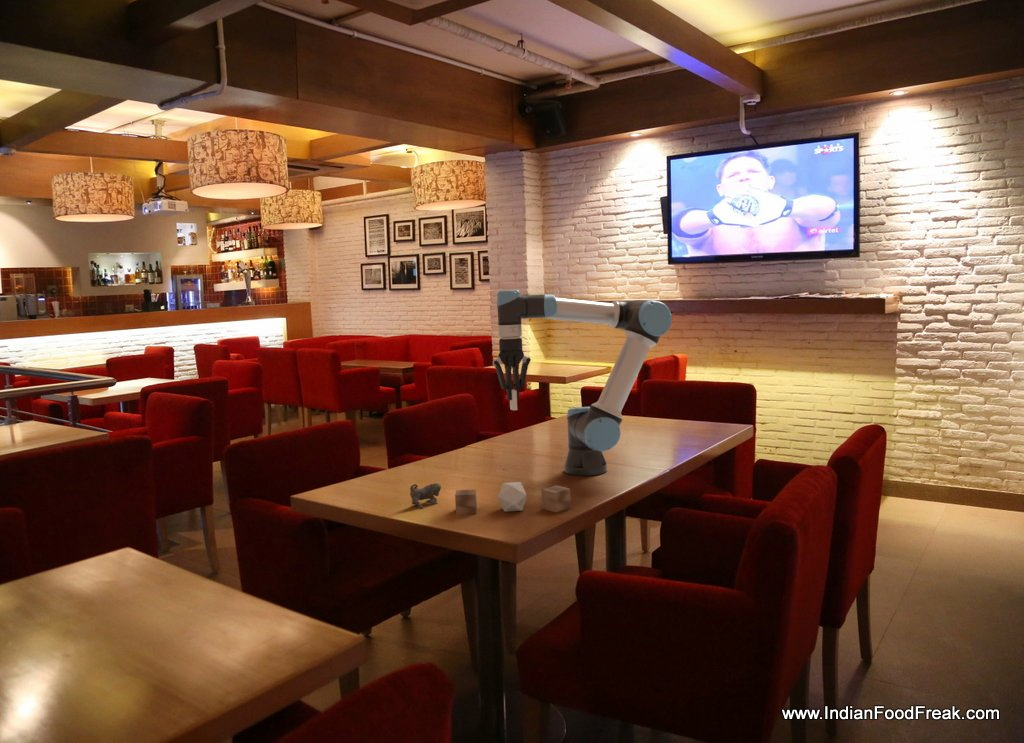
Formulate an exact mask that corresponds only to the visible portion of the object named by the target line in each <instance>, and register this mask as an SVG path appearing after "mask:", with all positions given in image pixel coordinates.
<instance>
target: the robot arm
mask: <svg viewBox="0 0 1024 743" xmlns="http://www.w3.org/2000/svg"><path fill="white" fill-rule="evenodd" d="M496 302H497V303H496V308H497V309H496V310H497V321H498V322H497V324H498V337H499V340H498V347H499V353H498V356H497V358H496V359H493V360H492V361H491V364H492V366H494V368H495V371H496V374H497V379H498V381H499V385H500V388H501V389H503V390H506V399H507V400H508V401H509V408H510V410H511V411H518V400H520V390H521V389H522V388H525V385H526V384H525V383H526V378H527V374H528V368H529V364H530V363H531V360H532V359H531V358H530V357H527V356H525V354H524V352H523V339H522V335H523V332H522V331H523V330H522V320H523V319H524V320H525V319H546V320H547V319H548V320H556V321H559V320H560V321H568V322H577V323H588V324H595V325H607V326H609V327H610V328H611V329H618V330H623V331H624V333H625V335H626V336H625V338H626V339H625V340H624V343H623V345H622V347H621V349H620V351H619V354H618V356H617V358H616V360H615V363H614V364H613V367H612V369H611V371H610V374H609V376H608V379H607V380H606V382H605V385H604V387H603V388H602V391H601V394H600V396H599V398H598V400H597V401H596V402H594V403H592V404H591V405H590V406H580V407H579V406H578V407H573V408H569V409H567V414H566V420H567V440H568V441H567V443H568V449H567V450H568V451H567V455H566V458H565V462H564V465H563V467H564V470H563V471H564V473H566V474H567V475H570V476H571V475H572V476H581V477H582V476H583V477H584V476H596V475H602V474H605V473H606V472H607V471H608V465H607V461H606V458H605V455H604V452H606V451H610V450H612V449H613V448H614V447H615V446H616V445H617V444H618V443H619V441H620V439H621V428H620V426H621V424H622V421H623V420H624V419H623V415H622V410H623V408H624V406H625V403H626V402H627V400H628V398H629V395H630V393H631V390H632V389H633V386H634V384H635V382H636V380H637V377H638V375H639V373H640V371H641V369H642V367H643V364H644V362H645V360H646V358H647V355H648V354H649V351H650V349H651V348H653V347H655V346H657V345H658V342H659V340H660V338H661V336H664V335H665V334H666V333H667V332H668V331H669V330H670V328H671V327H672V323H673V317H672V316H673V315H672V313H671V309H669V307H668V306H667V305H666V304H665V303H664V302H661V301H659V300H655V299H646V300H643V299H640V300H639V299H638V300H629V301H628V300H627V301H626V300H625V301H620V300H614V301H612V302H601V301H592V300H583V299H582V300H581V299H571V298H563V297H556V296H555V295H554V294H546V293H545V294H543V293H542V294H521V292H520V290H519V289H508V290H507V289H506V290H499V291H498V292H497V294H496ZM501 363H502V364H503V366H504V370H505V373H504V372H503V368H502V366H501ZM520 363H522V364H521V368H520ZM519 369H520V370H519ZM519 371H520V372H519ZM504 374H505V376H504Z"/></svg>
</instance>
